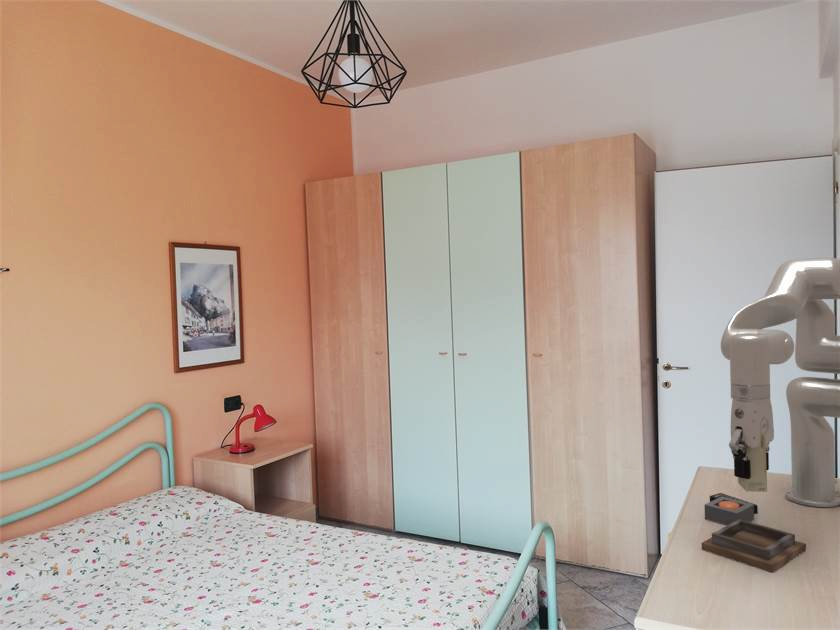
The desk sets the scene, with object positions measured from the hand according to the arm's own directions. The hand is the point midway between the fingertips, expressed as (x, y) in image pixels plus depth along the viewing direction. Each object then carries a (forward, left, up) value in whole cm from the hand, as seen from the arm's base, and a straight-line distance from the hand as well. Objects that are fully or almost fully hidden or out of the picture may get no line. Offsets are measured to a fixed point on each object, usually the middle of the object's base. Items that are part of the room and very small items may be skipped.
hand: (751, 472), depth 139 cm
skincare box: (0, 0, -3) cm, 3 cm away
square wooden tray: (0, 0, -17) cm, 17 cm away
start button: (-13, -12, -16) cm, 24 cm away
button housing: (-13, -12, -17) cm, 24 cm away
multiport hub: (-20, -15, -18) cm, 31 cm away
